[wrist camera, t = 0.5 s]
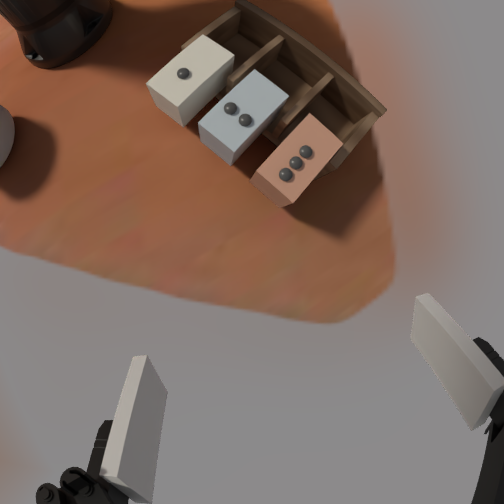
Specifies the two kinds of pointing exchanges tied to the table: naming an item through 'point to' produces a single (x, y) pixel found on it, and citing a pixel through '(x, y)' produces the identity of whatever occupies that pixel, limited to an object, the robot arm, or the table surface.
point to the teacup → (5, 134)
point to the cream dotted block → (191, 79)
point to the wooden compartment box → (294, 77)
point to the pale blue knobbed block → (241, 116)
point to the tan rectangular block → (296, 162)
